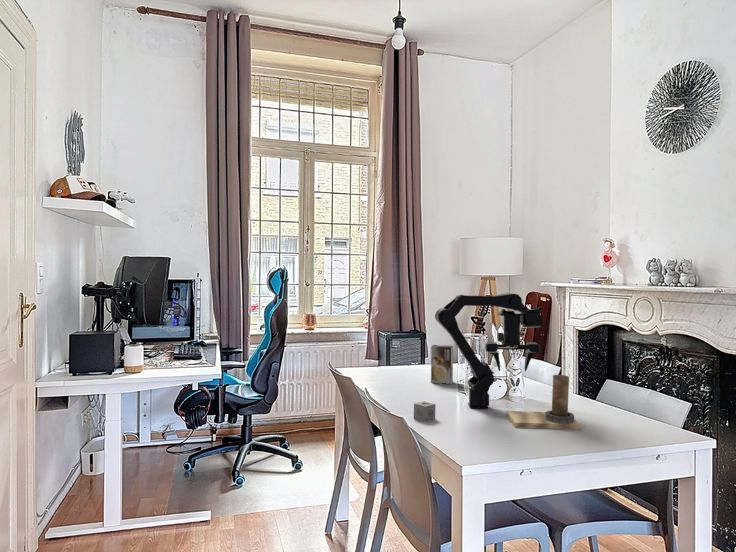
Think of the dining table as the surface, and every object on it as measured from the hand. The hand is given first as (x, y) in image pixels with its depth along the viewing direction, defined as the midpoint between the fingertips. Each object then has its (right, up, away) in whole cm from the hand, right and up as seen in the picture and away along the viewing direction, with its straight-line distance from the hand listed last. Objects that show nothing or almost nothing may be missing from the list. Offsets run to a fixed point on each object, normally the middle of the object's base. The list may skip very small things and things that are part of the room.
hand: (512, 370), depth 190 cm
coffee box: (-20, -13, +41) cm, 47 cm away
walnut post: (+9, -12, -22) cm, 27 cm away
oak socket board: (+4, -13, -19) cm, 24 cm away
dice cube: (-34, -13, -17) cm, 40 cm away
